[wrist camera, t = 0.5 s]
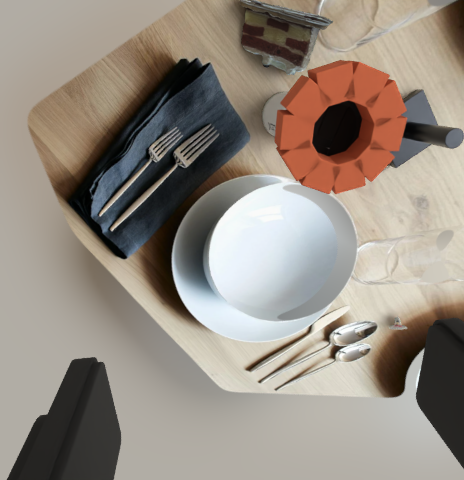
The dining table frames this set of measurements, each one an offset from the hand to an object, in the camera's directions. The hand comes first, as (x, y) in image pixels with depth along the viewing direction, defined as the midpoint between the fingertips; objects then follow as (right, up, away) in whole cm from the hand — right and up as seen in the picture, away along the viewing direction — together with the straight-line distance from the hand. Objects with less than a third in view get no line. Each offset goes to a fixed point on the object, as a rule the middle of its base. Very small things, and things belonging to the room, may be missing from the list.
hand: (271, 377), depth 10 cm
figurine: (+30, -13, +56) cm, 65 cm away
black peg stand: (+25, +21, +44) cm, 55 cm away
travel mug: (+6, +22, +42) cm, 47 cm away
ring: (+8, +14, +23) cm, 28 cm away
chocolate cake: (+5, +31, +38) cm, 49 cm away
